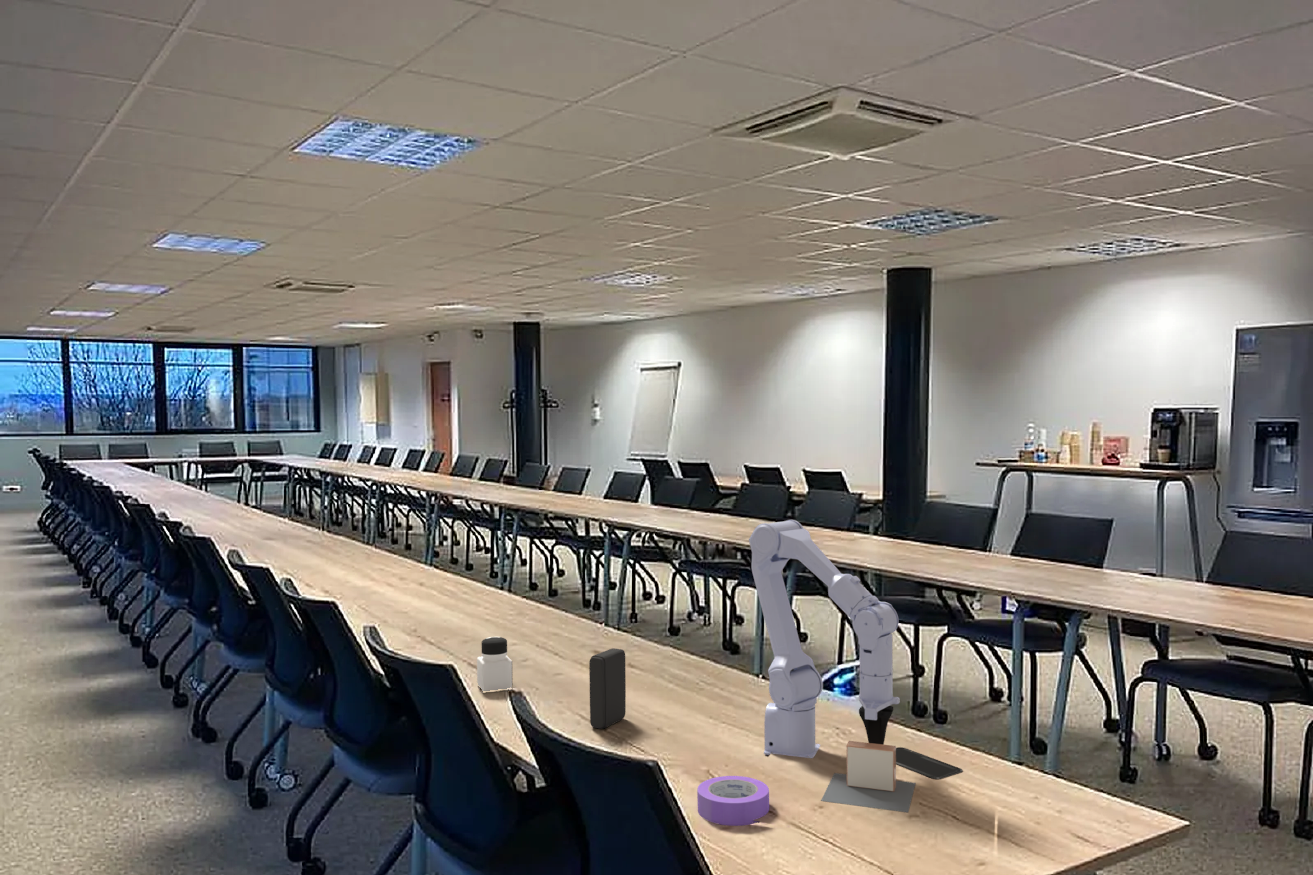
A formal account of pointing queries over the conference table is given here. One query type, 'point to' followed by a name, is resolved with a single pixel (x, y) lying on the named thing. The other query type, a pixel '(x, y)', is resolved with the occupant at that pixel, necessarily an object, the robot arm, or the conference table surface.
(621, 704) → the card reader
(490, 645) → the medicine bottle
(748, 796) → the masking tape
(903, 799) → the mat
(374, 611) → the conference table surface
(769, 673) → the robot arm
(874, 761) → the light brown rectangular block
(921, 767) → the phone
